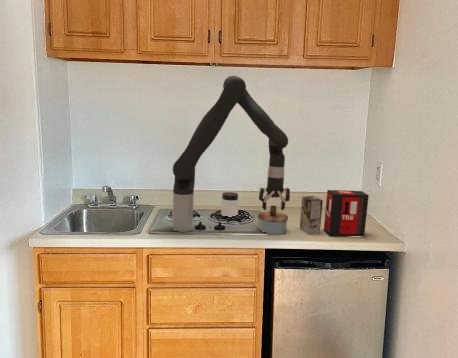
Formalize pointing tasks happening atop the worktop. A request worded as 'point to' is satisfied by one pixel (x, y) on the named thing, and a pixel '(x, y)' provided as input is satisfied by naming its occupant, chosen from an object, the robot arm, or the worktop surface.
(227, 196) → the jar
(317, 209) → the coffee box
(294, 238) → the worktop surface
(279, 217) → the lid
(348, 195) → the cleaning product box
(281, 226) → the bowl
